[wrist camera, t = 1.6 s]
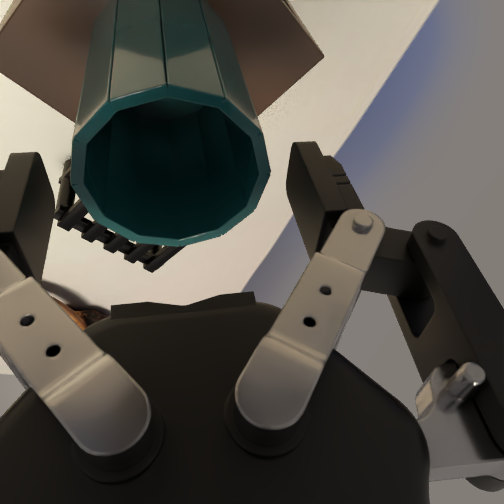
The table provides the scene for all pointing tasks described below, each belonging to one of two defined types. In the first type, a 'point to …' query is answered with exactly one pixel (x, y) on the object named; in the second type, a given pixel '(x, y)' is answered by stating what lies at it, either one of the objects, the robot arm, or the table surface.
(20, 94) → the table surface
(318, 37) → the table surface
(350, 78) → the table surface
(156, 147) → the cup
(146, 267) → the rack
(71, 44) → the shelf
